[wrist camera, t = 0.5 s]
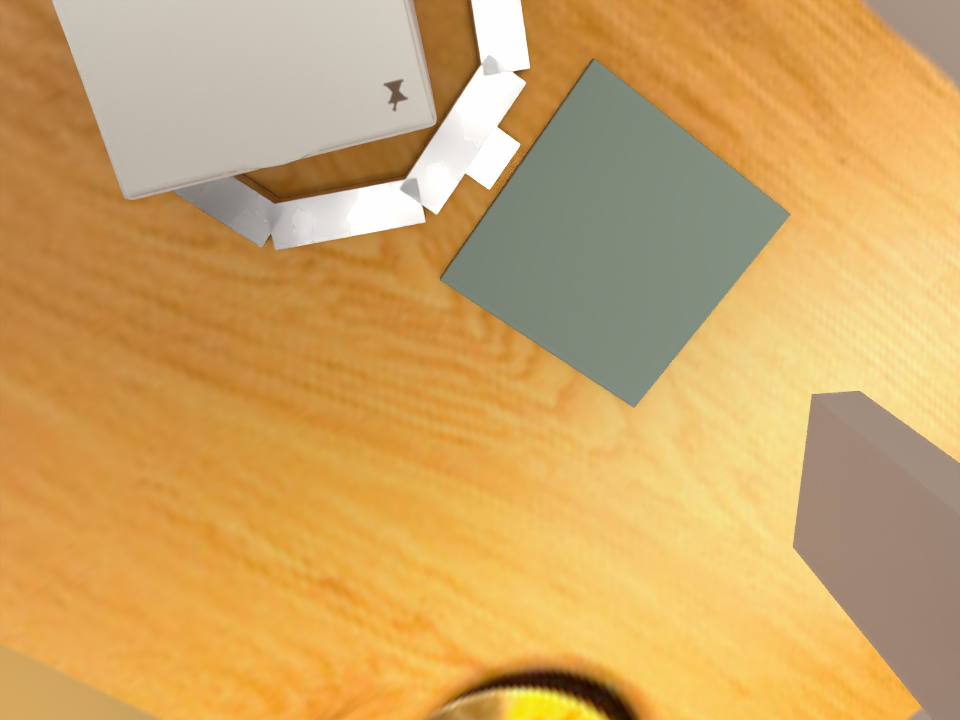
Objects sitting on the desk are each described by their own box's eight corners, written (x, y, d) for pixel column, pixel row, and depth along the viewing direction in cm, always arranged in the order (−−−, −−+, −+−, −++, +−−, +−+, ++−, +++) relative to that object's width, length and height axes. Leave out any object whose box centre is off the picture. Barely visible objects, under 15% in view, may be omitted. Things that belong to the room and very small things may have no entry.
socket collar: (-25, 56, 33) (-44, 56, 32) (185, -377, 29) (173, -399, 28) (395, 321, 39) (394, 330, 37) (624, -11, 34) (633, -14, 33)
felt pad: (440, 278, 38) (440, 280, 38) (592, 58, 35) (594, 58, 35) (632, 404, 41) (634, 407, 41) (787, 212, 38) (790, 214, 38)
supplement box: (381, -121, 32) (359, -264, 18) (434, 105, 36) (448, 131, 22) (163, -70, 32) (-26, -173, 18) (235, 152, 36) (120, 208, 22)
